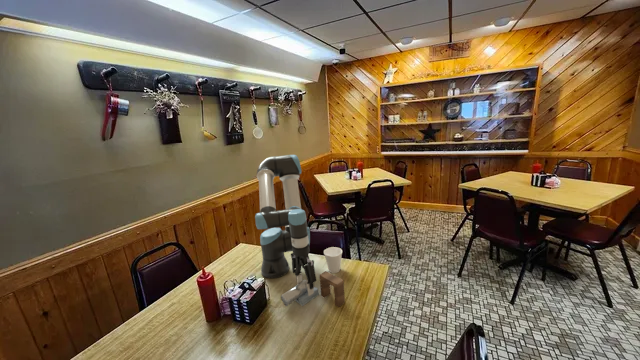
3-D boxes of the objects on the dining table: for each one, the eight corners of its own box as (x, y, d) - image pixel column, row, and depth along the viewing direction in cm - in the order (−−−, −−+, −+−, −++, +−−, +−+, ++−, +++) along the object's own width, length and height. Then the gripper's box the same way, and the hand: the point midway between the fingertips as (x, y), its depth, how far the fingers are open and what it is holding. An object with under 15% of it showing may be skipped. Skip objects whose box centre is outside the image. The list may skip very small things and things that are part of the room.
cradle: (291, 297, 117) (290, 292, 116) (307, 287, 123) (307, 281, 123) (302, 306, 111) (301, 300, 110) (318, 294, 118) (318, 288, 117)
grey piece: (288, 308, 108) (286, 298, 106) (281, 302, 111) (280, 293, 110) (311, 291, 116) (310, 282, 115) (304, 287, 120) (303, 278, 118)
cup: (343, 264, 140) (342, 246, 138) (343, 275, 131) (342, 256, 128) (325, 265, 141) (324, 247, 139) (324, 275, 132) (322, 256, 129)
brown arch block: (321, 295, 117) (319, 274, 114) (327, 291, 119) (325, 270, 117) (338, 307, 109) (337, 284, 106) (344, 302, 111) (343, 280, 109)
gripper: (280, 241, 116) (286, 286, 120) (308, 254, 102) (314, 304, 106) (293, 235, 121) (298, 279, 125) (321, 247, 107) (326, 295, 111)
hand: (305, 290), depth 116 cm, fingers open, 7 cm apart
